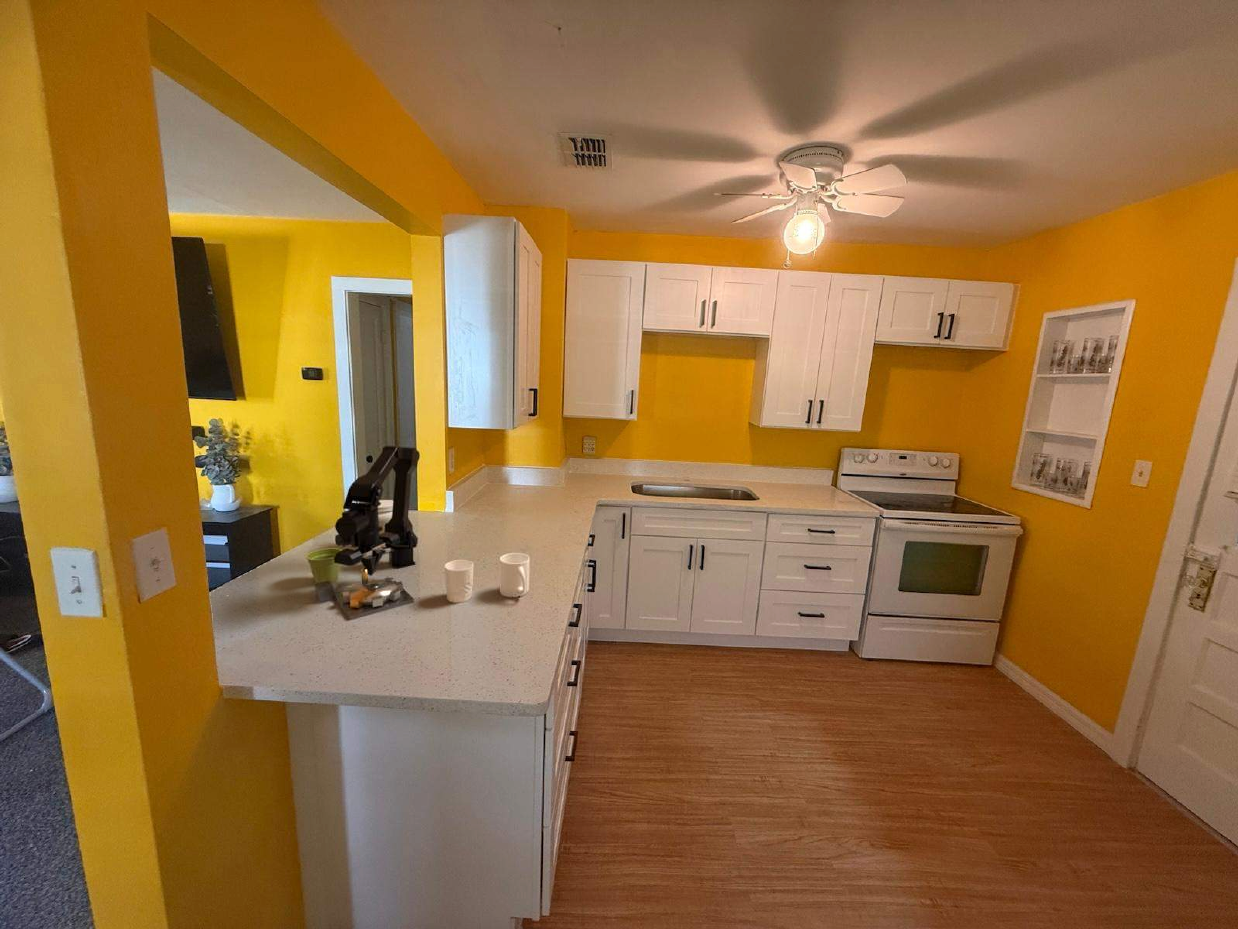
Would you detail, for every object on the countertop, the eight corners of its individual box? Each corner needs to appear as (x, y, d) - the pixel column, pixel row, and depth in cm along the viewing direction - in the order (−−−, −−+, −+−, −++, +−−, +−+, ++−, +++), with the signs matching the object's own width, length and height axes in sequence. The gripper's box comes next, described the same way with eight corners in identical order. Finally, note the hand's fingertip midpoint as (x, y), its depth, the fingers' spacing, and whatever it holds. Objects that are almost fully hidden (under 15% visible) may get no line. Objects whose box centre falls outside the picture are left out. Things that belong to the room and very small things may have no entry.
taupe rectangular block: (329, 593, 131) (328, 580, 130) (334, 600, 127) (333, 586, 127) (315, 597, 129) (314, 583, 128) (319, 603, 125) (318, 590, 124)
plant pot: (327, 589, 133) (325, 561, 132) (299, 585, 135) (297, 557, 133) (351, 576, 142) (350, 550, 141) (325, 572, 144) (324, 546, 142)
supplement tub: (409, 547, 168) (408, 503, 165) (377, 557, 158) (375, 510, 155) (390, 540, 175) (389, 497, 172) (358, 549, 164) (356, 503, 162)
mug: (509, 605, 130) (509, 570, 128) (495, 588, 139) (496, 555, 138) (537, 599, 134) (538, 564, 132) (522, 583, 144) (523, 551, 142)
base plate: (393, 582, 140) (393, 579, 140) (413, 602, 129) (413, 598, 128) (333, 597, 129) (333, 594, 129) (349, 620, 117) (349, 616, 117)
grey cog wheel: (388, 579, 139) (387, 560, 138) (412, 595, 130) (412, 575, 128) (333, 594, 127) (332, 574, 126) (356, 613, 118) (355, 592, 117)
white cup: (479, 594, 135) (479, 562, 133) (461, 606, 128) (461, 572, 126) (457, 589, 138) (456, 558, 136) (438, 600, 130) (438, 567, 129)
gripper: (369, 511, 141) (372, 558, 145) (315, 531, 124) (320, 584, 127) (400, 516, 139) (402, 564, 142) (349, 537, 121) (352, 591, 124)
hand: (370, 575), depth 134 cm, fingers closed
